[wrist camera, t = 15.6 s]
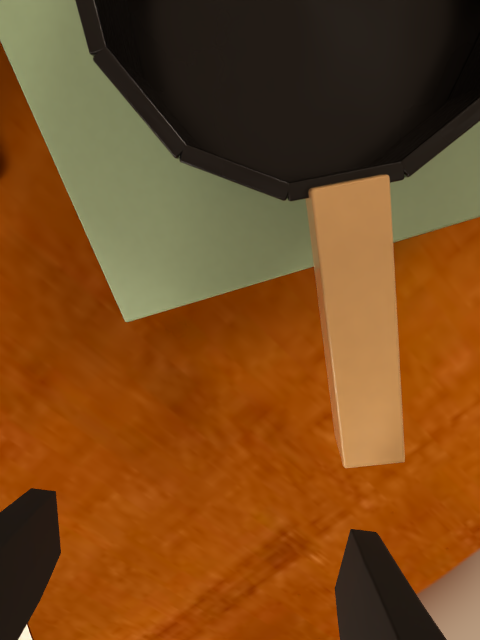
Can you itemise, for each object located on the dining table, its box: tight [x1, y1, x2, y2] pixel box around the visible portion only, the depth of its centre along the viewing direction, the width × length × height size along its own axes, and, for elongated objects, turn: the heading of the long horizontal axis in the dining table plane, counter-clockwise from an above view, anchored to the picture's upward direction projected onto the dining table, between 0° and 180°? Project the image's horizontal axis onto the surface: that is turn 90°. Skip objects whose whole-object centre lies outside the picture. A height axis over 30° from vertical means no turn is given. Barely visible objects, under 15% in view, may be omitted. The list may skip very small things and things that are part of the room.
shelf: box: [0, 0, 480, 322], centre depth 12 cm, size 14×13×6 cm
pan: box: [75, 0, 480, 468], centre depth 9 cm, size 17×10×4 cm, turn 11°
